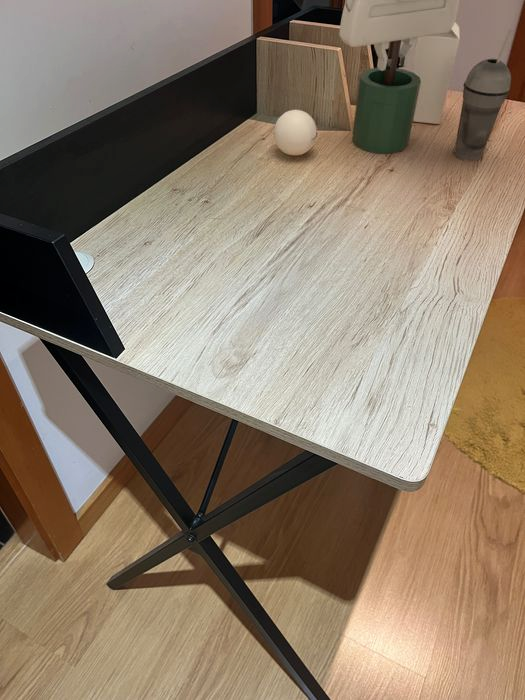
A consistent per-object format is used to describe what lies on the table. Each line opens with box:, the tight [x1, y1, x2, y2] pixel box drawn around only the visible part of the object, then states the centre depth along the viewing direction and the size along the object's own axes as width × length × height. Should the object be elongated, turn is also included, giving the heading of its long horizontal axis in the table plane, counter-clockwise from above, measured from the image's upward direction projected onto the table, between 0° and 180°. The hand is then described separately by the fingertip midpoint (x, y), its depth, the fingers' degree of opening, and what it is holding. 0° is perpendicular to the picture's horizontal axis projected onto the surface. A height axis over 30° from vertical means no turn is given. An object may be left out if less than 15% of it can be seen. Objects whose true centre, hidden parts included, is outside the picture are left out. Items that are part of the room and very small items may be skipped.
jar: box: [351, 67, 421, 155], centre depth 99 cm, size 10×10×11 cm
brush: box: [383, 40, 402, 86], centre depth 95 cm, size 4×4×19 cm
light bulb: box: [273, 109, 318, 157], centre depth 98 cm, size 10×7×7 cm
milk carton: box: [410, 22, 461, 125], centre depth 105 cm, size 7×7×19 cm
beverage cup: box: [454, 29, 513, 162], centre depth 93 cm, size 7×7×20 cm
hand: (391, 67), depth 95 cm, fingers closed on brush, 2 cm apart
